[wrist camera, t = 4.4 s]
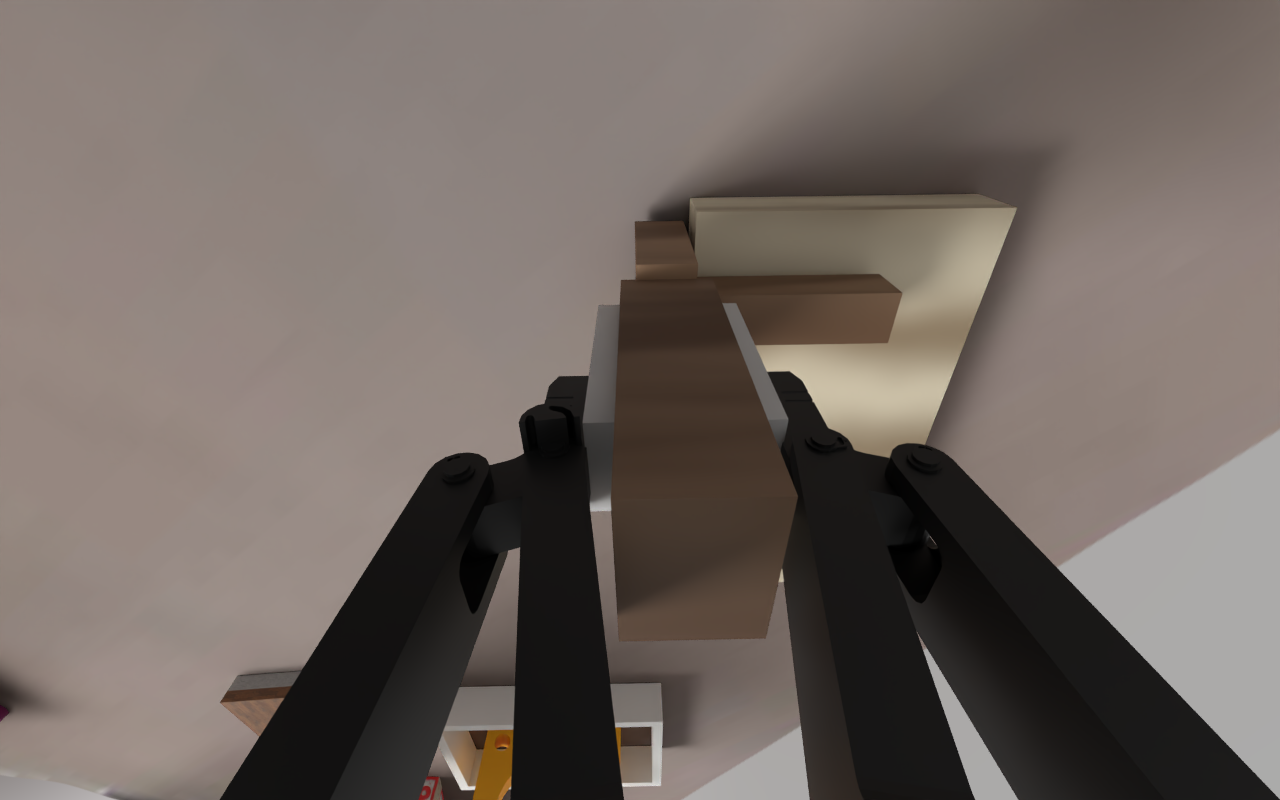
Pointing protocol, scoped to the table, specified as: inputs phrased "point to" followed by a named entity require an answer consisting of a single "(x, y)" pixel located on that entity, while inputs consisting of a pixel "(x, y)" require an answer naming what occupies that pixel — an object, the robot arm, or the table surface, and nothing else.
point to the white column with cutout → (258, 697)
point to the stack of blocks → (432, 789)
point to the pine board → (867, 244)
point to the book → (3, 712)
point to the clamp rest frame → (497, 713)
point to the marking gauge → (710, 435)
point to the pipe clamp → (501, 765)
